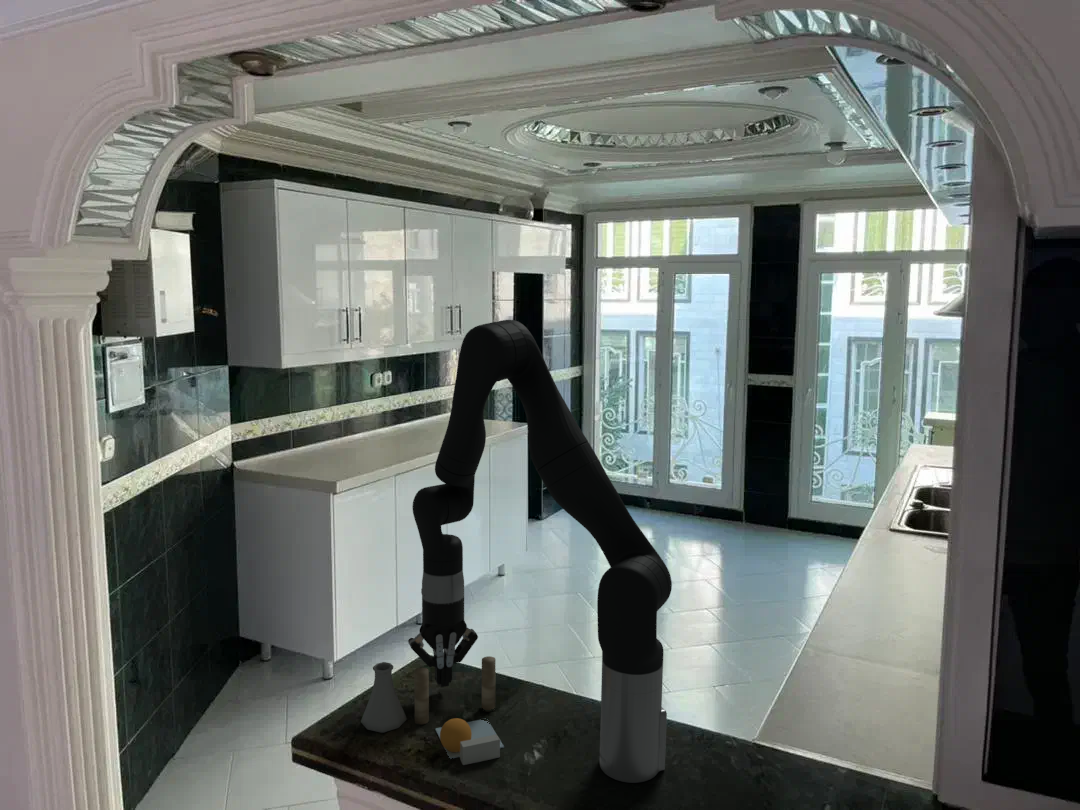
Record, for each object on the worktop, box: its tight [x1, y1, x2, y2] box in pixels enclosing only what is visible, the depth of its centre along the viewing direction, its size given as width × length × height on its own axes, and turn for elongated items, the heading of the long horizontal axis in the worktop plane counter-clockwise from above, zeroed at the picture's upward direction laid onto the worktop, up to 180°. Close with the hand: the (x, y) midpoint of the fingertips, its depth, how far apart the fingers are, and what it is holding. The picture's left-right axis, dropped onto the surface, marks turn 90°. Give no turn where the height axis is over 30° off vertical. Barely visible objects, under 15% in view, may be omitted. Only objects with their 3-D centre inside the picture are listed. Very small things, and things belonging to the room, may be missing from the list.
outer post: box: [413, 667, 430, 725], centre depth 134 cm, size 2×2×9 cm
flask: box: [360, 661, 408, 734], centre depth 134 cm, size 7×7×10 cm
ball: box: [439, 717, 472, 752], centre depth 126 cm, size 5×5×5 cm
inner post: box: [481, 656, 496, 710], centre depth 138 cm, size 2×2×9 cm
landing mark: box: [434, 719, 505, 760], centre depth 130 cm, size 9×9×1 cm
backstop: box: [459, 733, 501, 766], centre depth 124 cm, size 6×2×3 cm, turn 112°
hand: (443, 684), depth 144 cm, fingers closed
